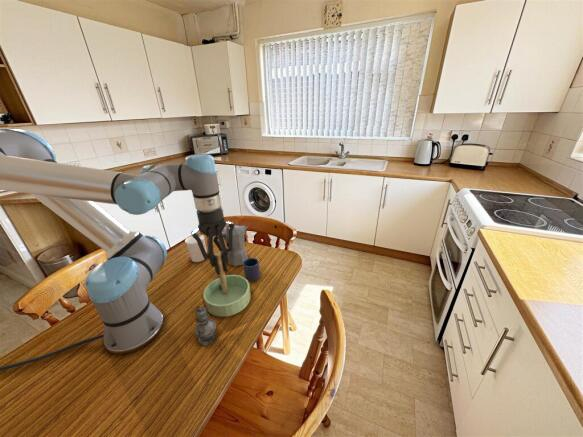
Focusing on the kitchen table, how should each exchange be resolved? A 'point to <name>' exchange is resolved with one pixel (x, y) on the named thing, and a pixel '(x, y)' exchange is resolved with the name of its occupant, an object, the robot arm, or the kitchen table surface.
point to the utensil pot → (251, 269)
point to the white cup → (195, 248)
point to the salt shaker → (204, 327)
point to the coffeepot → (235, 245)
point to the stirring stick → (221, 273)
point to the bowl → (227, 296)
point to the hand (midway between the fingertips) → (221, 271)
